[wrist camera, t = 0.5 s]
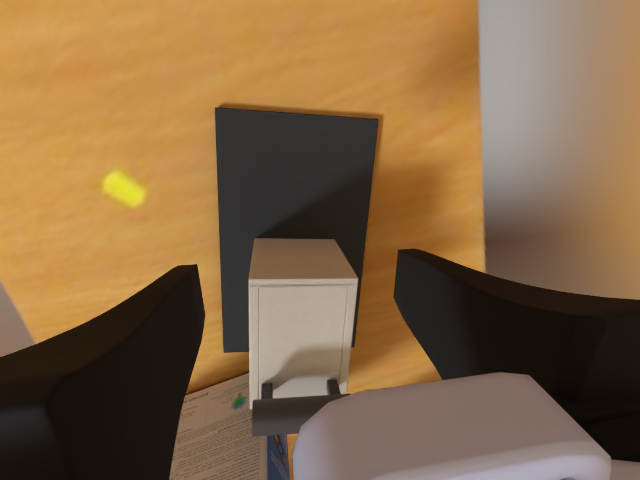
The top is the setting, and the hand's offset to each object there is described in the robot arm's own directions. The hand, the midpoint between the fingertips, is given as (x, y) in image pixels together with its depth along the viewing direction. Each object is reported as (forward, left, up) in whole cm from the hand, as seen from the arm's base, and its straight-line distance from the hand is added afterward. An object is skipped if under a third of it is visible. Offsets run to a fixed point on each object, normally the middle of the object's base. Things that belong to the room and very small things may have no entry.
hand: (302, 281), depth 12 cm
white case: (-5, -3, -11) cm, 12 cm away
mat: (-1, -1, -11) cm, 11 cm away
